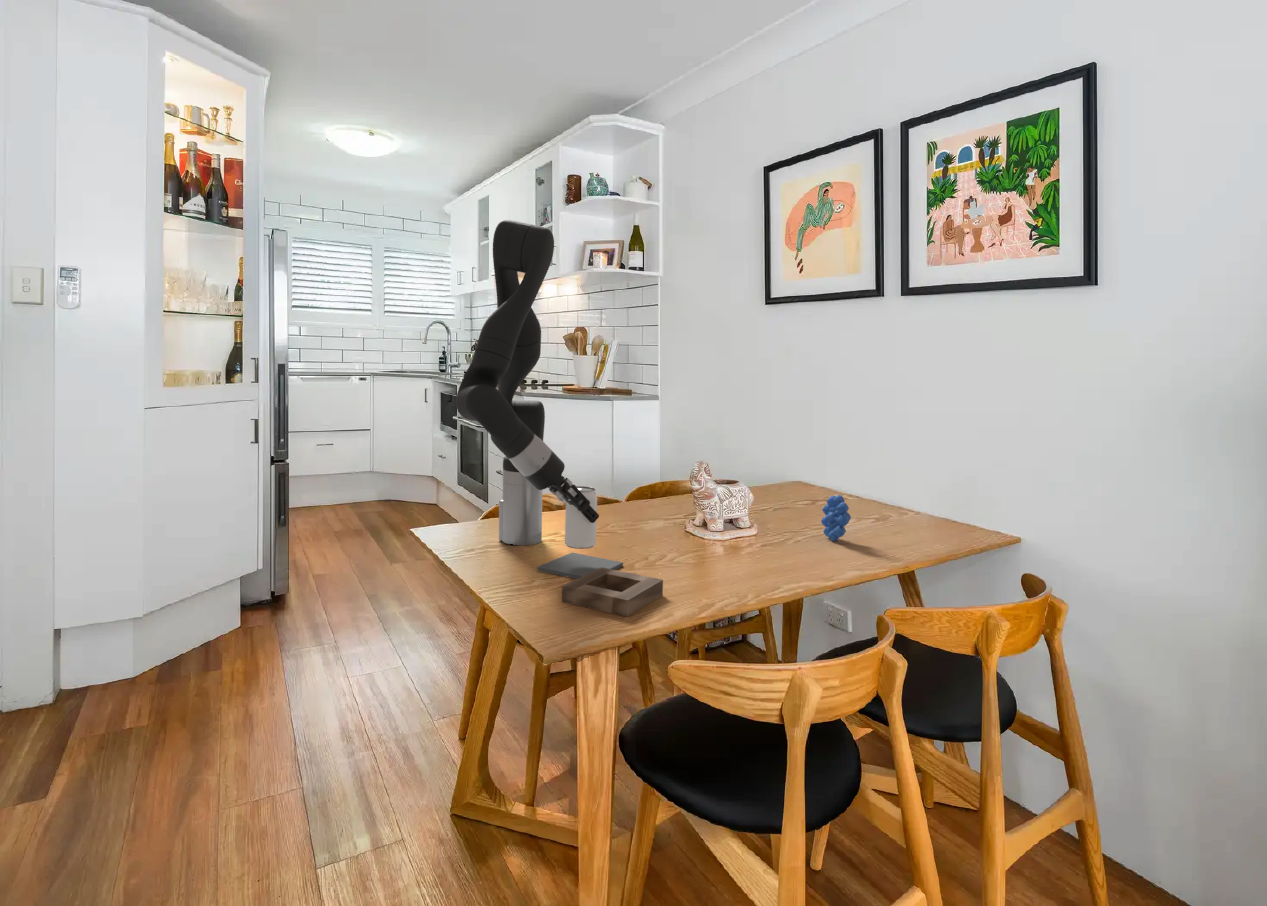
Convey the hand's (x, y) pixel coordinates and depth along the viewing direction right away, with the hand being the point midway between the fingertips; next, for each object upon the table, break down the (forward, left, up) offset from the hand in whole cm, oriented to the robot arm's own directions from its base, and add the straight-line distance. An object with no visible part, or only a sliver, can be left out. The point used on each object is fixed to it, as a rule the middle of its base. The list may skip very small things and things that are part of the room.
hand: (589, 516), depth 151 cm
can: (-1, -1, -6) cm, 7 cm away
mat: (-1, -1, -11) cm, 11 cm away
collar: (+14, -13, -11) cm, 22 cm away
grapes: (+39, +55, -11) cm, 68 cm away
